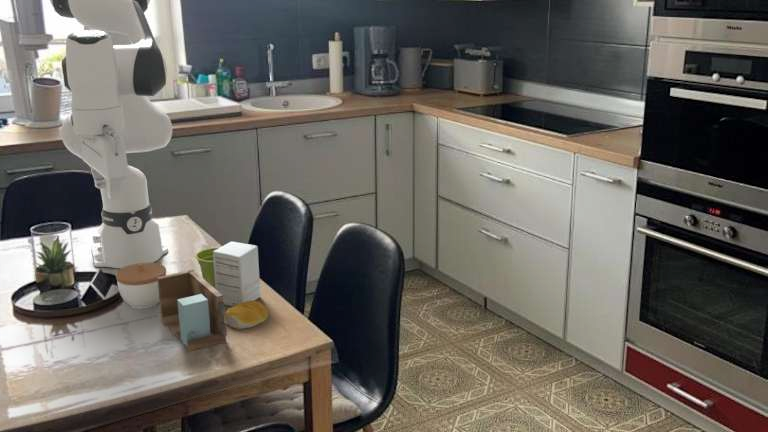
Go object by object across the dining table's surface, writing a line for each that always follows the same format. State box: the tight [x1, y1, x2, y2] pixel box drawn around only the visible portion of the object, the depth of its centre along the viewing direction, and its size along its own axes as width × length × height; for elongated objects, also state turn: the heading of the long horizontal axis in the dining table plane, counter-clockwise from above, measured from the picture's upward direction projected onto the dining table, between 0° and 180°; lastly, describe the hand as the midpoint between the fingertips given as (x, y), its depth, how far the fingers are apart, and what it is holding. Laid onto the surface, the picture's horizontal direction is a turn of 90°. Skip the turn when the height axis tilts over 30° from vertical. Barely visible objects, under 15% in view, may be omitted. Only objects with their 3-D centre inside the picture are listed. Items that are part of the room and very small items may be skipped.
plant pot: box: [195, 246, 220, 288], centre depth 180 cm, size 9×9×9 cm
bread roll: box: [224, 300, 268, 330], centre depth 165 cm, size 8×9×4 cm
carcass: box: [157, 269, 228, 352], centre depth 159 cm, size 18×8×10 cm, turn 34°
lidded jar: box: [115, 262, 167, 310], centre depth 172 cm, size 11×11×9 cm
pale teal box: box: [177, 294, 212, 347], centre depth 155 cm, size 5×5×9 cm
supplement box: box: [213, 241, 261, 307], centre depth 173 cm, size 7×7×13 cm
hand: (107, 193), depth 147 cm, fingers open, 8 cm apart
